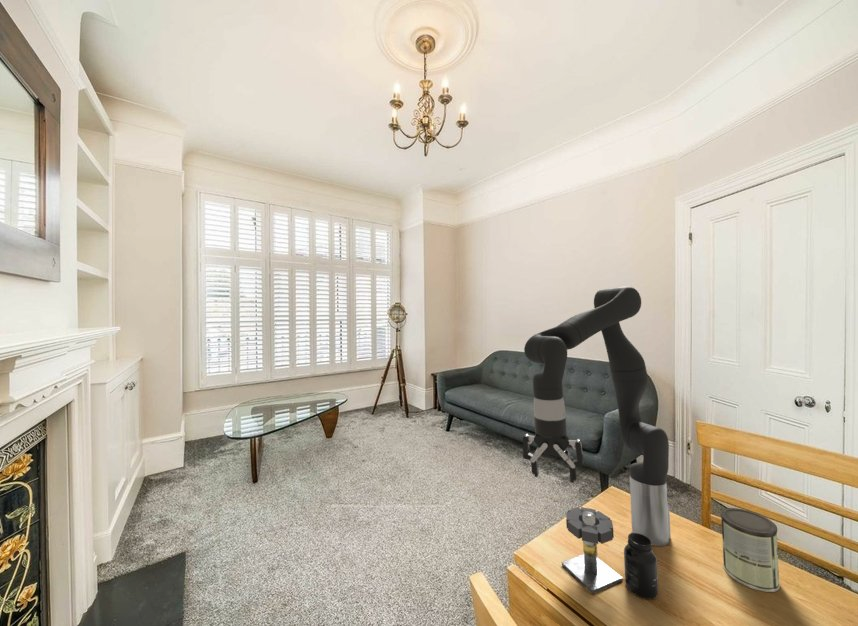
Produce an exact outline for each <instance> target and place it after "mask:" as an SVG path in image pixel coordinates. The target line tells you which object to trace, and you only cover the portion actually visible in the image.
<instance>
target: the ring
mask: <svg viewBox="0 0 858 626" xmlns="http://www.w3.org/2000/svg"><path fill="white" fill-rule="evenodd" d="M584 511H589V512H592V513H593V514H595V524H596V525H595V526H591V525H586V524H584V523H583V517H582V513H583V512H584ZM565 516H566V517H565V519H566V520H565V521H566V522H565V523H566V529H567V531H568V532H569V533H570V534H571V535H573V536H574V537H576V538H577V539H579V540H581V541H582V542H583V541H587V542H591V543H596V544H597V545H599V543H600V544H601V545H602V544H605V543H608V542H612V541H613V539H615V538H614V537H615V536H614V525H613V524H614V523H613V520H612V519H611V518H610V517H609V516H607V515H606V514H605V513H603V512H601V511H599V510H596V508H595V509H593V508H588V507H583V506H581V507H578V506H577V507H573V508H571V509H567V511H566V515H565Z"/></svg>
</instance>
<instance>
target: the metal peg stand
mask: <svg viewBox="0 0 858 626" xmlns="http://www.w3.org/2000/svg"><path fill="white" fill-rule="evenodd" d="M582 517H583V523H584V524H586V525H591V526H595V525H596V524H595V514H593V513H592V512H589V511H584V512H583V513H582ZM582 545H583V546H582V550H583V554H580V555H577V556H575V557H572V558H569V559H567V560H565V561H561V566H562V567H563V568H564V569H565V570H566V571H567V572H568V573H569V574H571V576H572V577H574V578H575V579H576V580H577V581H578V582H579V583H580V584H581V585H582V586H583V587H585V589H586V590H588V592H589V593H590V594H591V595H594V594H596V593H599V592H600V591H603V590H604V589H607V588H610V587H611V586H615V585H616V584H618V583H620V582H623V580H624V579H623V576H621V575H620V574H619V573H617V572H616V571H615V570H614V569H612V568H611V567H610V566H609V565H608V564H606V563H605V562H604V561H603V560H601V559H600V558H599V557H598V544H596V543H591V542H587V541H582Z"/></svg>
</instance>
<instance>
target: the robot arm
mask: <svg viewBox="0 0 858 626" xmlns="http://www.w3.org/2000/svg"><path fill="white" fill-rule="evenodd" d="M593 297H594V298H593V308H591V309H589V310H586V311H584V312H580V313H578V314H576V315H574V316H571V317H569V318H567V319H566V320H565V321H563V322H562V323H560V324H558V325H557V326H554V327H552V328H549V329H546V330H542V331H541V332H538V333H535V334H533V335H532V336H531V337H529V338H528V339H527V341H526V342H525V344H524V348H523V350H524V351H523V352H524V355H525V357H526V358H527V359H528V360H529V361H530V362H532V363H537V364H543V365H544V366H543V370H542V372H538V373H536V374H534V376H533V378H532V388H533V416H534V429H535V430H534V431H535V433H534V434H535V435H532V434H529V433H527V432H526V433H525V434H524V435H523V437H522V457H523V459H524V460H528V461H529V462H530V463H531V464H530V465H531V473H532V475H533V476H534V477H535V478H538V477H539V474H540V473H539V472H540V471H539V470H540V469H539V459H538V458H539V457H541V456H542V454H544V455H545V456H553V457H557V458H558V457H561V458H562V459H563V461H565V462H566V463H567V465H569V467H568V468H569V481H570V483H572V484H574V482H575V481H577V475H578V474H577V468H579V467H581V468H582V467H584V462H585V461H584V453H583V446H582V445H583V444H582V440H581V439H580V438H576V439H569V438H568V431H567V430H568V429H567V417H566V416H567V415H566V405H565V400H564V391H563V389H564V388H563V379H564V374H565V369H566V366H567V365H566V364H567V359H568V350H571V349H574V348H576V347H577V346H579V345H580V344H582V343H583V342H586V341H587V340H588V339H589V338H592V337H594V335H596V334H598V333H600V332H601V334H602V337H603V341H604V346H605V349H606V354H607V357H608V365H609V369H610V375H611V379H612V383H613V388H614V391H615V397H616V398H615V399H616V403H617V409H618V410H617V411H618V418H619V419H618V420H619V429H620V437H621V441H622V443H623V445H624V446H625V447H626V448H627V449H629V450H630V451H632V452H634V453H635V454H636V453H637V454H638V455H641V456H642V457H643V459H642V462H641V461H640V462H639V461H637V462H634V463H631V464H630V466H629V467H628V470H629V490H630V493H629V494H630V514H631V533H638V534H642V535H644V536H646V537H647V538H649V539H650V541H651V546H656V547H663V546H667V545H668V544H669V542H670V539H671V515H670V505H669V504H668V492H667V491H668V490H667V477H668V473H669V463H670V460H669V457H670V454H669V452H670V450H669V449H670V446H669V445H670V443H669V438H668V434H667V433H666V432H665V430H664V429H662V428H660V427H657V426H654V425H652V424H649V423H646V422H643V420H642V418H641V413H640V403H641V400H642V398H643V396H644V394H645V393H646V390H647V388H648V386H649V377H648V371H647V366H646V361H645V360H644V358H643V355H642V354H641V353H640V352H639V350H638V349H637V348H636V347H635V346H634V344H632V342H631V341H630V340H629V339H628V337H626V335H625V334H624V332H623V329H622V327H621V323H620V322H622V321H625V320H628V319H629V318H630V319H631V318H633V317H635V316H636V315H637V314H638V313H639V311H640V310H641V308H642V297H641V295H640V293H639V291H638V290H637V289H636V288H635V287H632V286H626V285H625V286H617V287H609V288H602V289H599V290H597V291H596V293H595V295H594V296H593ZM533 442H534V443H535V444H536V446H537V448H536V450H535V451H534V452H533V453H531V452H530V451H531V450H530V449H531V448H530V447H531V446H530V445H531V444H532V443H533ZM569 446H571V447H572V449H573V450H574V451H575V454H576V459H575V458H574V457H573V455H571V452H570V451H569V450H568V448H569Z"/></svg>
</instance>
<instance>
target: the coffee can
mask: <svg viewBox="0 0 858 626" xmlns="http://www.w3.org/2000/svg"><path fill="white" fill-rule="evenodd" d="M719 513H720V519H721V534H722V537H721V538H722V554H723V555H722V558H723V559H722V560H723V569H724V571H725V572H726V574H727V575H728V576H730V577H731V578H732V579H733V580H734V581H736V582H738V583H739V584H741V585H744V586H746V587H747V588H750V589H753V590H756V591H759V592H764V593H775V592H777V591H779V590H780V588H781V585H780V574H779V573H780V572H779V571H780V570H779V557H778V556H779V555H778V554H779V553H778V552H779V551H778V537H777V536H778V535H777V534H778V527H777V525H776V523H774V522H773V521H772V520H770V519H769V518H768V517H766V516H764V515H761V514H759V513H757V512H753V511H750V510H747V509H742V508H737V507H726V508H723V509H721V510H720V512H719Z"/></svg>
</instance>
